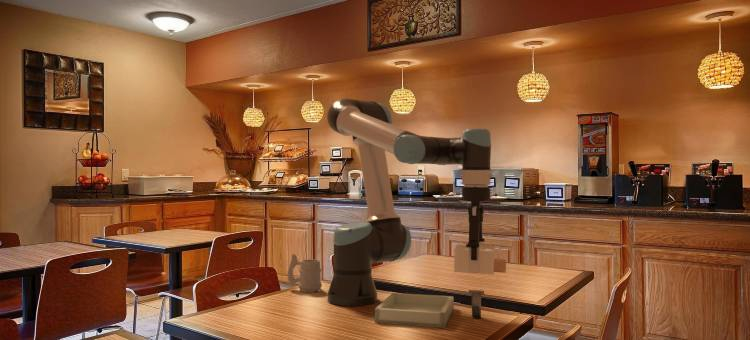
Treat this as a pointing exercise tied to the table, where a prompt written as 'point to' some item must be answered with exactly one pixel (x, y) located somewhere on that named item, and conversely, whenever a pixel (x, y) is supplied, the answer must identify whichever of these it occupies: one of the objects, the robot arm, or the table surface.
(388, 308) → the tray
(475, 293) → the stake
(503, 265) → the beige recessed block
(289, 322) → the table surface
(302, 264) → the mug
